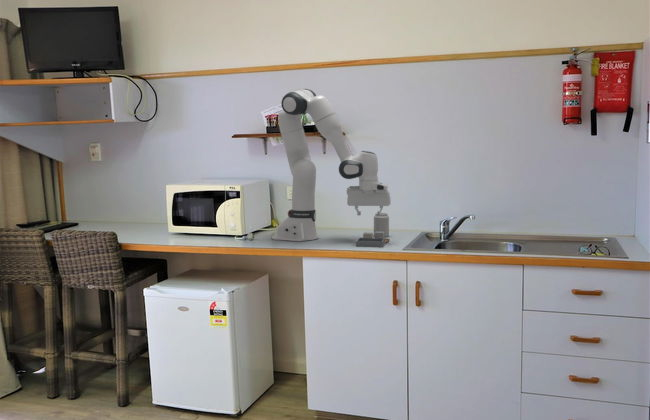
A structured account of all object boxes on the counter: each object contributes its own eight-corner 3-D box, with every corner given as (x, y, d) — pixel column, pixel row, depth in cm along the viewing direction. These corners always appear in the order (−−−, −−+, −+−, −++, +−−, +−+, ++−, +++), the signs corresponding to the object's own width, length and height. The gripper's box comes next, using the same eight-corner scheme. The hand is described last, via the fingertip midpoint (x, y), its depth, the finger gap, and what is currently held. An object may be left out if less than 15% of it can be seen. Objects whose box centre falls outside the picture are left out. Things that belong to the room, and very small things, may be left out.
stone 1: (363, 242, 292) (363, 233, 291) (364, 240, 295) (364, 232, 295) (371, 242, 291) (371, 233, 290) (372, 240, 295) (372, 232, 294)
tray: (357, 243, 291) (357, 241, 291) (360, 239, 301) (360, 237, 301) (387, 244, 288) (387, 242, 288) (389, 240, 299) (389, 238, 298)
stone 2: (374, 241, 294) (374, 232, 294) (375, 239, 298) (375, 231, 298) (383, 241, 294) (383, 232, 293) (384, 239, 298) (384, 231, 297)
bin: (356, 247, 280) (356, 240, 280) (359, 244, 289) (359, 237, 289) (382, 248, 278) (382, 241, 278) (384, 245, 287) (384, 238, 286)
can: (387, 238, 304) (388, 214, 303) (372, 238, 305) (372, 214, 304) (389, 236, 311) (389, 212, 310) (374, 235, 313) (374, 212, 311)
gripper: (345, 186, 289) (346, 216, 291) (389, 186, 285) (389, 216, 286) (347, 185, 295) (348, 214, 297) (390, 185, 291) (391, 214, 293)
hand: (369, 215), depth 292 cm, fingers open, 8 cm apart
